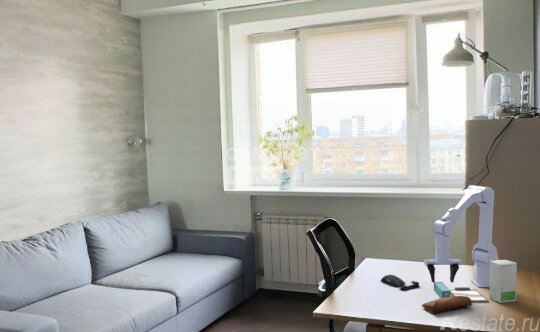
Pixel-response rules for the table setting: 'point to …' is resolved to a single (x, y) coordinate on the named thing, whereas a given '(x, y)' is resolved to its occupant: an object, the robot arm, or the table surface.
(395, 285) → the computer mouse
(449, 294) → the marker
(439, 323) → the table surface
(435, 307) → the sunglasses case
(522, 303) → the table surface
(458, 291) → the clipboard
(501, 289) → the skincare box
